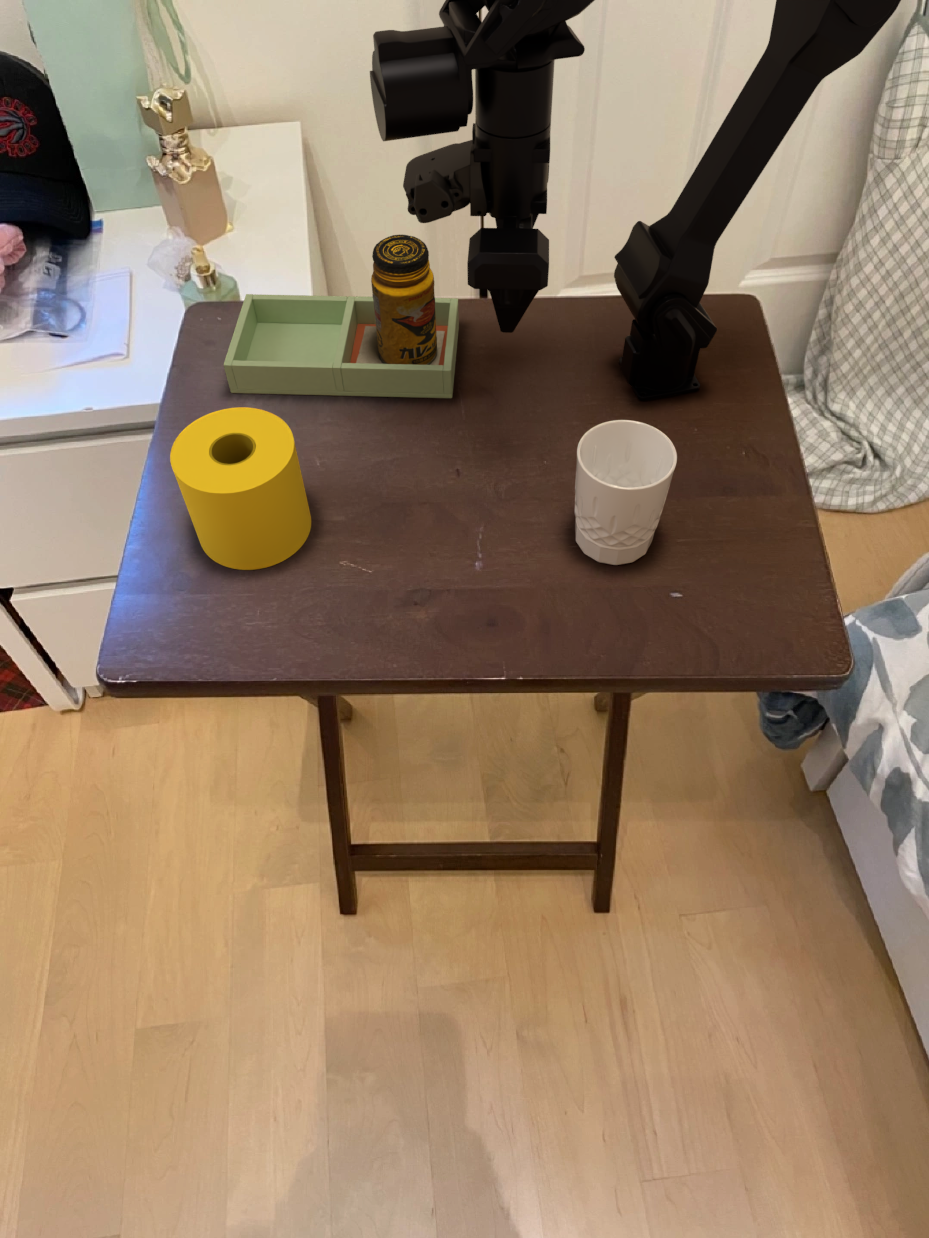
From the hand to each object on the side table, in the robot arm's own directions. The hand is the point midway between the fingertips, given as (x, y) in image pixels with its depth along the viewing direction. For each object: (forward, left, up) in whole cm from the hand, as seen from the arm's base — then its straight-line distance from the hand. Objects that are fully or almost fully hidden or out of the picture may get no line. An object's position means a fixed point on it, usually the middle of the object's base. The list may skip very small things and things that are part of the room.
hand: (508, 299), depth 83 cm
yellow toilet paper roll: (+26, +10, -12) cm, 30 cm away
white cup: (-5, +19, -12) cm, 23 cm away
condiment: (+9, -10, -12) cm, 17 cm away
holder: (+14, -11, -12) cm, 21 cm away
